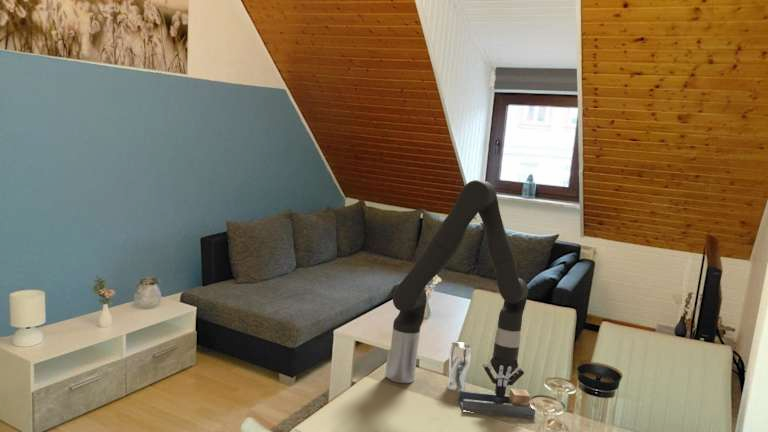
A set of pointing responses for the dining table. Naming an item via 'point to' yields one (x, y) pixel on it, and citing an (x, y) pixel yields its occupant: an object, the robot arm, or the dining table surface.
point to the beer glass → (458, 365)
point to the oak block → (519, 397)
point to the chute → (493, 405)
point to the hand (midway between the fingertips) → (499, 396)
